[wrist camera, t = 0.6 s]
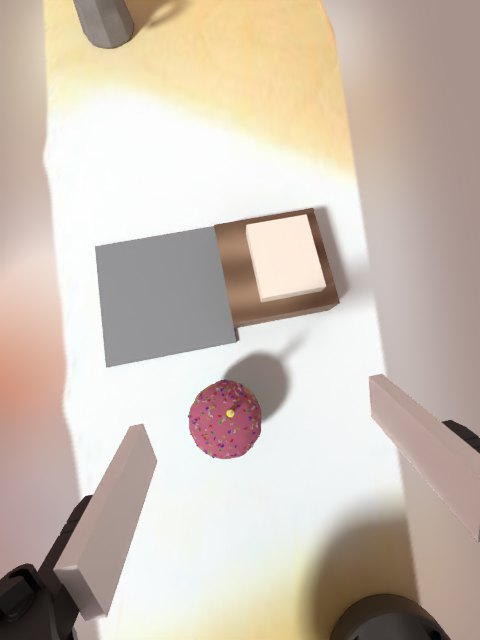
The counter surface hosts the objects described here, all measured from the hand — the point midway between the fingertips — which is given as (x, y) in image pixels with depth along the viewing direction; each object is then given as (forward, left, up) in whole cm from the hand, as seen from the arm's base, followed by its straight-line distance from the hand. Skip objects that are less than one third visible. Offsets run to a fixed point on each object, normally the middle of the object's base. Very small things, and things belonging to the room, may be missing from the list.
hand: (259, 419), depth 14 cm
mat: (+16, +9, -20) cm, 27 cm away
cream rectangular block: (+16, -8, -16) cm, 24 cm away
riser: (+16, -7, -20) cm, 26 cm away
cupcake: (-2, +3, -20) cm, 21 cm away
